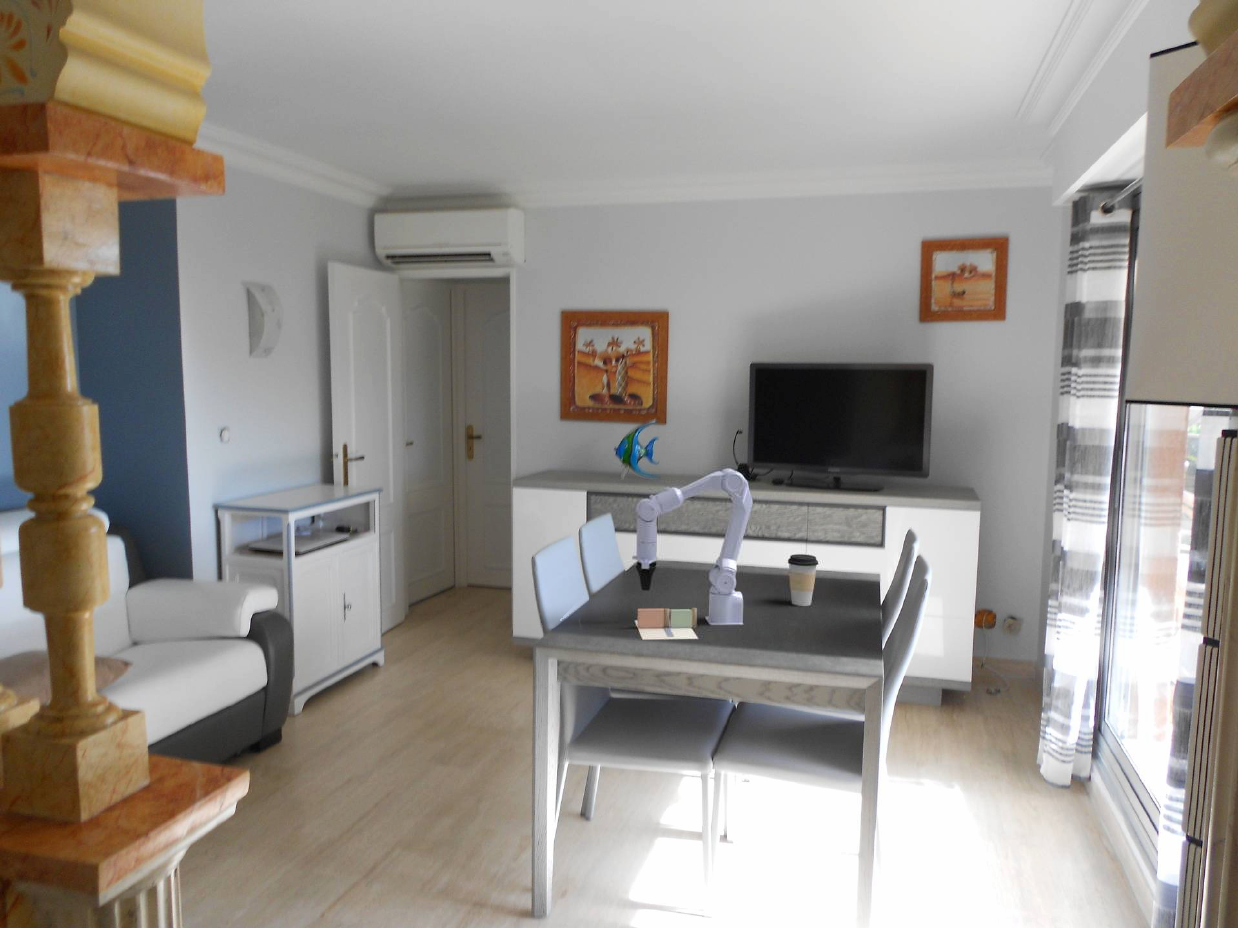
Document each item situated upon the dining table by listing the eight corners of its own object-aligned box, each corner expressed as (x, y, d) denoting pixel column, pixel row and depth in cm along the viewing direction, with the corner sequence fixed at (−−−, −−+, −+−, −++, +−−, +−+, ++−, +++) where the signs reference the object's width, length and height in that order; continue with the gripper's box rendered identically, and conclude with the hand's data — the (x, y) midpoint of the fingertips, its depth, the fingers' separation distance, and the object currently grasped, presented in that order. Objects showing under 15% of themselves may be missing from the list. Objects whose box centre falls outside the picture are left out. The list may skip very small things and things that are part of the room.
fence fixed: (695, 626, 247) (696, 607, 247) (697, 627, 246) (697, 608, 245) (669, 626, 246) (670, 607, 246) (670, 628, 245) (671, 609, 244)
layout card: (685, 620, 254) (685, 619, 254) (698, 639, 235) (698, 637, 235) (634, 621, 253) (634, 619, 253) (642, 640, 234) (642, 638, 234)
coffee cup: (782, 605, 274) (784, 557, 272) (790, 598, 282) (792, 552, 281) (813, 608, 270) (814, 560, 268) (819, 602, 278) (821, 555, 277)
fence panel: (668, 625, 247) (669, 608, 246) (669, 627, 245) (670, 609, 244) (637, 625, 246) (637, 608, 245) (638, 627, 244) (638, 610, 243)
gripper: (634, 536, 257) (633, 582, 258) (631, 545, 242) (630, 594, 244) (658, 537, 256) (657, 583, 258) (656, 546, 242) (655, 594, 243)
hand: (645, 588), depth 251 cm, fingers open, 3 cm apart
